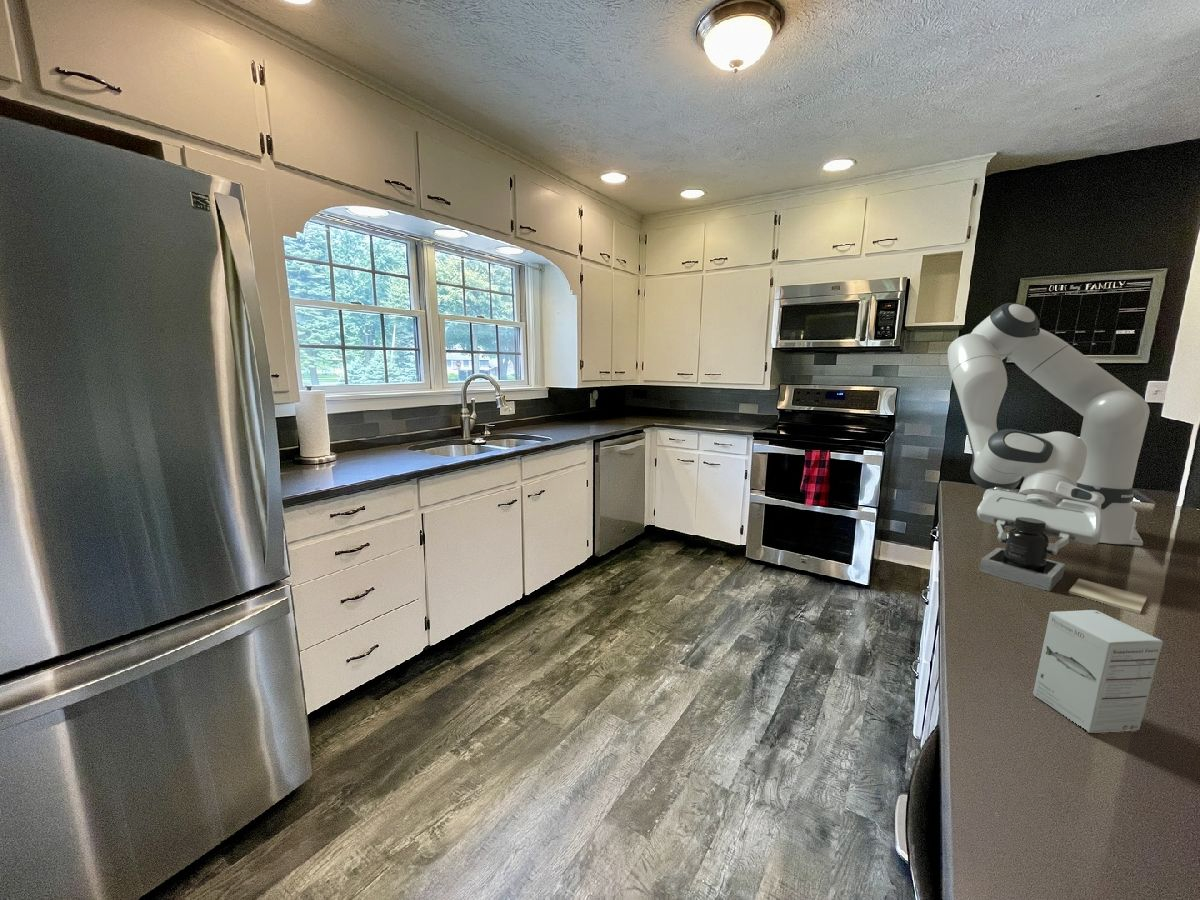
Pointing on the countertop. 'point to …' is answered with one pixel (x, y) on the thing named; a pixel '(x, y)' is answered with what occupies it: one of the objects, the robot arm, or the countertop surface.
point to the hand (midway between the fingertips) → (1025, 546)
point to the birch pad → (1109, 595)
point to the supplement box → (1096, 670)
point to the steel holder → (1022, 571)
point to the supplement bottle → (1027, 545)
